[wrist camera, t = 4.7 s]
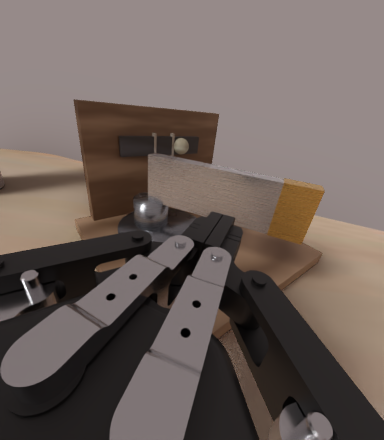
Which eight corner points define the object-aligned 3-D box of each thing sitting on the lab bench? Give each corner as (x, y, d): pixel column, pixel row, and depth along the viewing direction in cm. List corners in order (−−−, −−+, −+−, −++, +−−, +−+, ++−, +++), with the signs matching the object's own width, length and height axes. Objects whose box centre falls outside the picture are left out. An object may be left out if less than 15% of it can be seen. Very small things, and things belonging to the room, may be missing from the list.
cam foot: (98, 244, 23) (86, 154, 18) (149, 210, 31) (149, 142, 26) (283, 316, 17) (334, 212, 13) (285, 251, 25) (316, 174, 21)
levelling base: (76, 228, 28) (51, 97, 21) (208, 199, 42) (221, 113, 34) (155, 386, 14) (164, 132, 6) (317, 262, 27) (382, 137, 20)
